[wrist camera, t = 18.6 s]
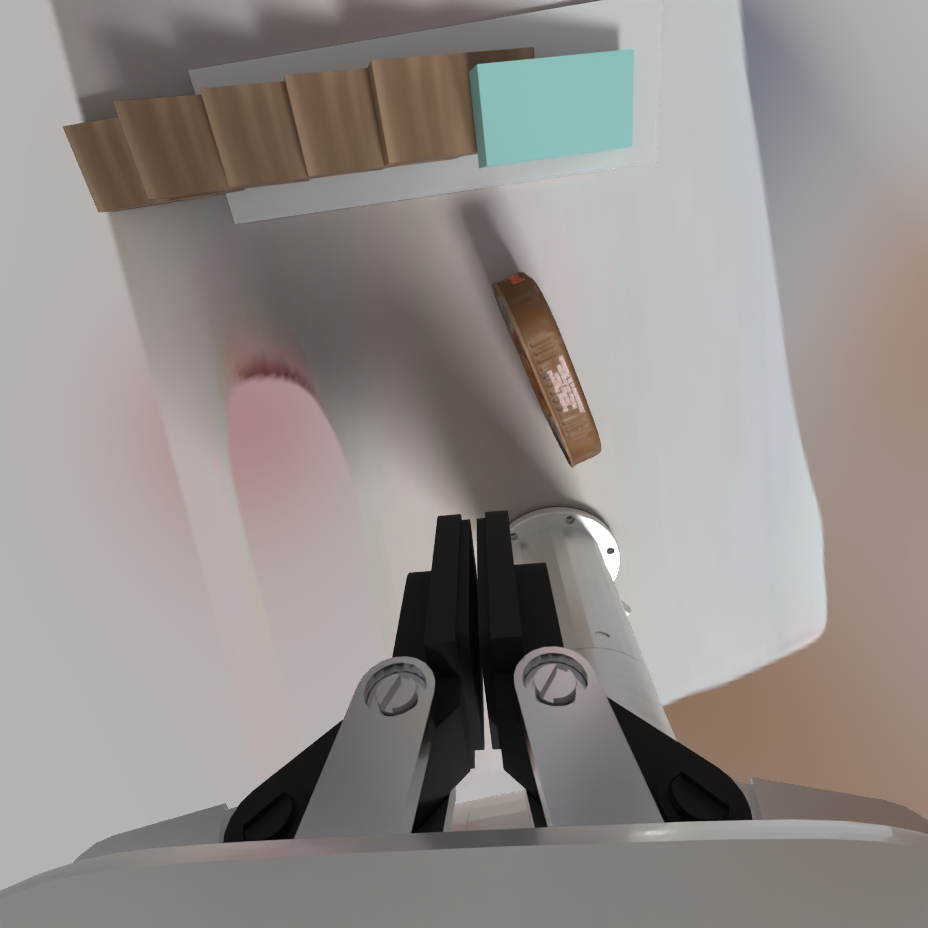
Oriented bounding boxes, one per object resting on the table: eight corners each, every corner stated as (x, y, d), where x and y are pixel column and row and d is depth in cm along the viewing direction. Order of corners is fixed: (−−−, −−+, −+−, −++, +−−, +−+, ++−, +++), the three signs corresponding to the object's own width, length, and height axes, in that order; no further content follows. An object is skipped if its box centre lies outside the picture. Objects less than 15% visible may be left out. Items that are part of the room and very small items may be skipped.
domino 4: (451, 60, 31) (284, 74, 28) (462, 155, 33) (308, 175, 31) (444, 68, 32) (284, 82, 30) (455, 159, 34) (307, 178, 32)
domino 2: (288, 87, 31) (112, 101, 29) (310, 178, 34) (148, 198, 31) (288, 93, 33) (120, 107, 30) (309, 181, 35) (153, 199, 33)
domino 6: (633, 48, 30) (477, 64, 28) (632, 145, 33) (487, 165, 31) (619, 57, 32) (468, 71, 30) (618, 149, 34) (479, 168, 32)
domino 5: (534, 46, 30) (371, 60, 28) (539, 143, 33) (389, 163, 30) (523, 55, 32) (367, 68, 29) (529, 147, 34) (384, 166, 32)
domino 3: (370, 73, 31) (199, 88, 29) (387, 167, 33) (229, 186, 31) (367, 80, 32) (203, 94, 30) (383, 169, 35) (231, 188, 32)
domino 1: (207, 100, 32) (62, 126, 33) (234, 189, 34) (98, 212, 35) (219, 104, 33) (80, 129, 34) (244, 190, 35) (113, 211, 36)
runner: (662, -9, 30) (663, -11, 30) (655, 162, 35) (656, 162, 34) (190, 71, 32) (188, 70, 32) (236, 224, 37) (234, 224, 36)
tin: (486, 278, 38) (491, 296, 31) (525, 259, 38) (539, 273, 30) (555, 441, 44) (573, 489, 37) (589, 427, 44) (614, 473, 36)
